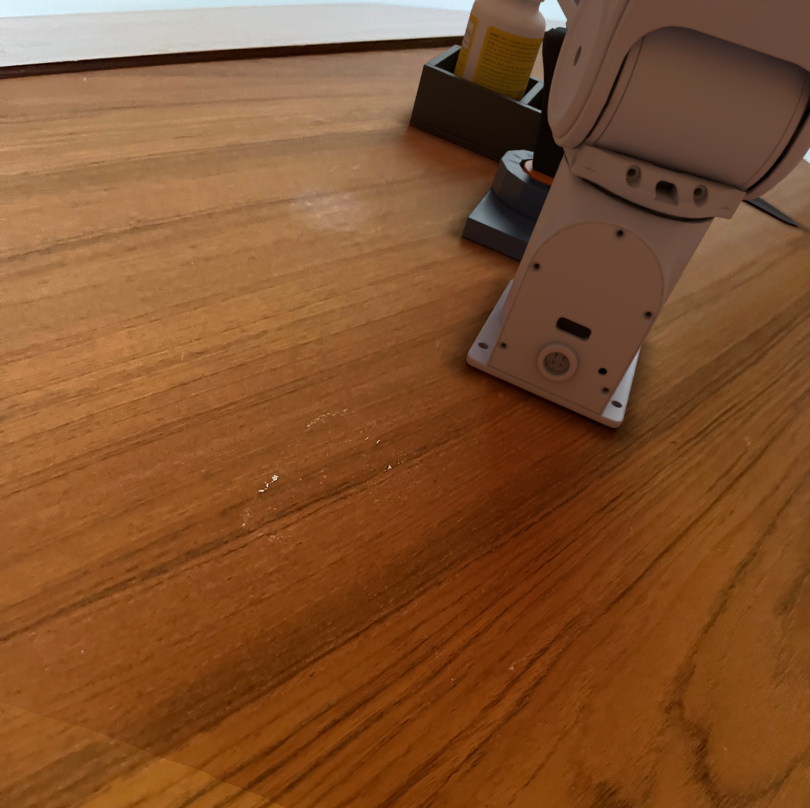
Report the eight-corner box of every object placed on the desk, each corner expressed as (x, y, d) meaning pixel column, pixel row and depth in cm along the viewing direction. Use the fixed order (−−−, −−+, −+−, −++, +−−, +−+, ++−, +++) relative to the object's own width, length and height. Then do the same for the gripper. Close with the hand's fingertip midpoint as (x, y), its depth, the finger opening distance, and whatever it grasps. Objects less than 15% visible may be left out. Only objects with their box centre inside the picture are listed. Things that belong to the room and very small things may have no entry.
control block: (583, 288, 45) (606, 241, 42) (460, 235, 45) (476, 186, 43) (607, 232, 51) (627, 188, 49) (499, 186, 52) (515, 141, 49)
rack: (594, 203, 54) (620, 146, 51) (408, 124, 55) (423, 64, 52) (609, 171, 59) (633, 118, 57) (440, 99, 60) (455, 44, 57)
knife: (798, 230, 62) (801, 219, 64) (802, 225, 62) (804, 214, 64) (629, 151, 64) (637, 142, 66) (631, 145, 64) (639, 137, 66)
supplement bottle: (524, 135, 58) (578, -15, 51) (477, 138, 54) (527, -21, 47) (477, 103, 60) (522, -45, 53) (429, 105, 57) (470, -53, 49)
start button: (555, 217, 47) (567, 189, 46) (509, 197, 47) (519, 169, 46) (565, 200, 49) (576, 174, 48) (520, 181, 50) (530, 155, 48)
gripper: (602, -133, 43) (516, 118, 52) (553, -126, 33) (457, 183, 42) (717, -87, 42) (609, 158, 52) (703, -66, 32) (572, 232, 42)
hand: (548, 172), depth 47 cm, fingers closed, pressing on start button
